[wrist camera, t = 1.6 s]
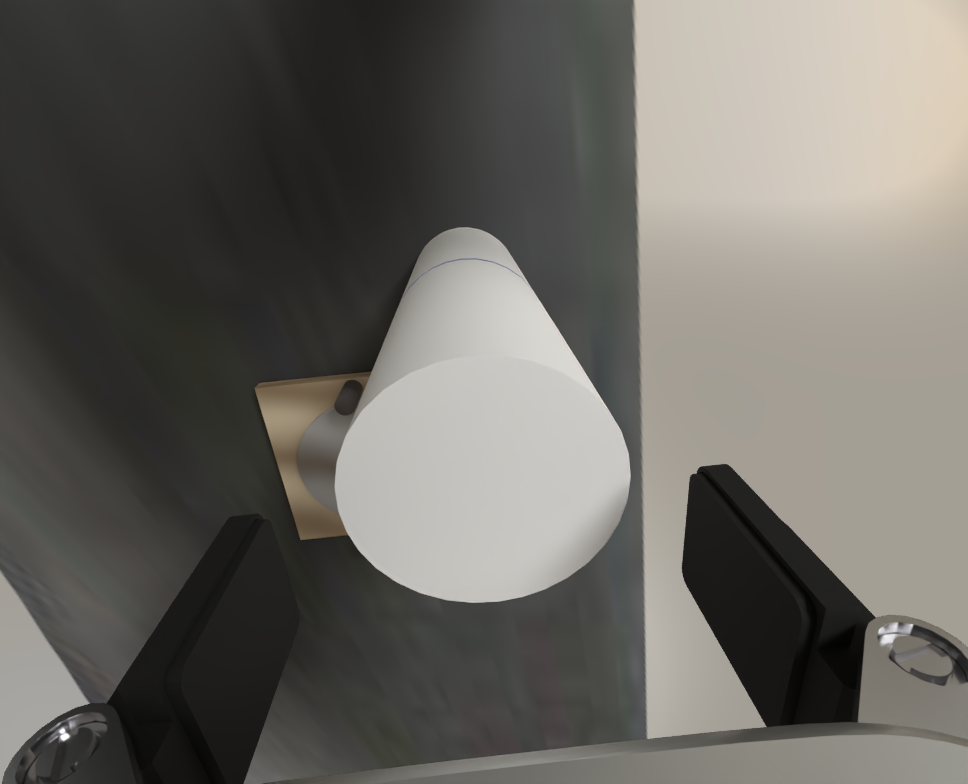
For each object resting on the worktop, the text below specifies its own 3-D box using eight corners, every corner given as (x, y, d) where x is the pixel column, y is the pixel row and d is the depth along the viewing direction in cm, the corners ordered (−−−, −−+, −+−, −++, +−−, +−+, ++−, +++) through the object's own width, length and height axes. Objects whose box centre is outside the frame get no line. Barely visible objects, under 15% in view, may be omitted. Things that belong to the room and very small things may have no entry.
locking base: (259, 382, 37) (238, 406, 34) (446, 363, 37) (446, 385, 34) (303, 532, 43) (289, 565, 39) (466, 515, 43) (467, 546, 39)
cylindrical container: (500, 213, 33) (600, 313, 10) (527, 313, 36) (650, 563, 13) (398, 245, 34) (281, 408, 11) (433, 342, 37) (397, 629, 14)
